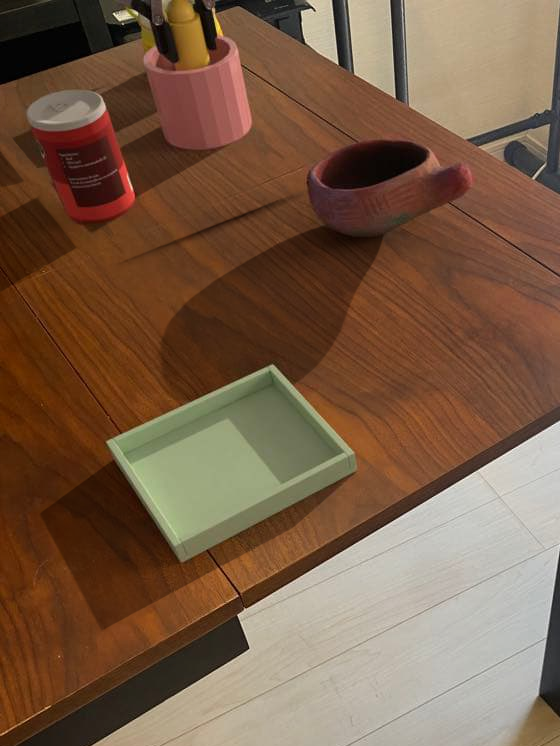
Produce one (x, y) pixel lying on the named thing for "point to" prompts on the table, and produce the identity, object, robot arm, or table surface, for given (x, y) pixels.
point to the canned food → (82, 155)
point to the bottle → (187, 36)
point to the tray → (230, 460)
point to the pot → (200, 98)
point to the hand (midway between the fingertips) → (189, 51)
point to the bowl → (381, 186)
